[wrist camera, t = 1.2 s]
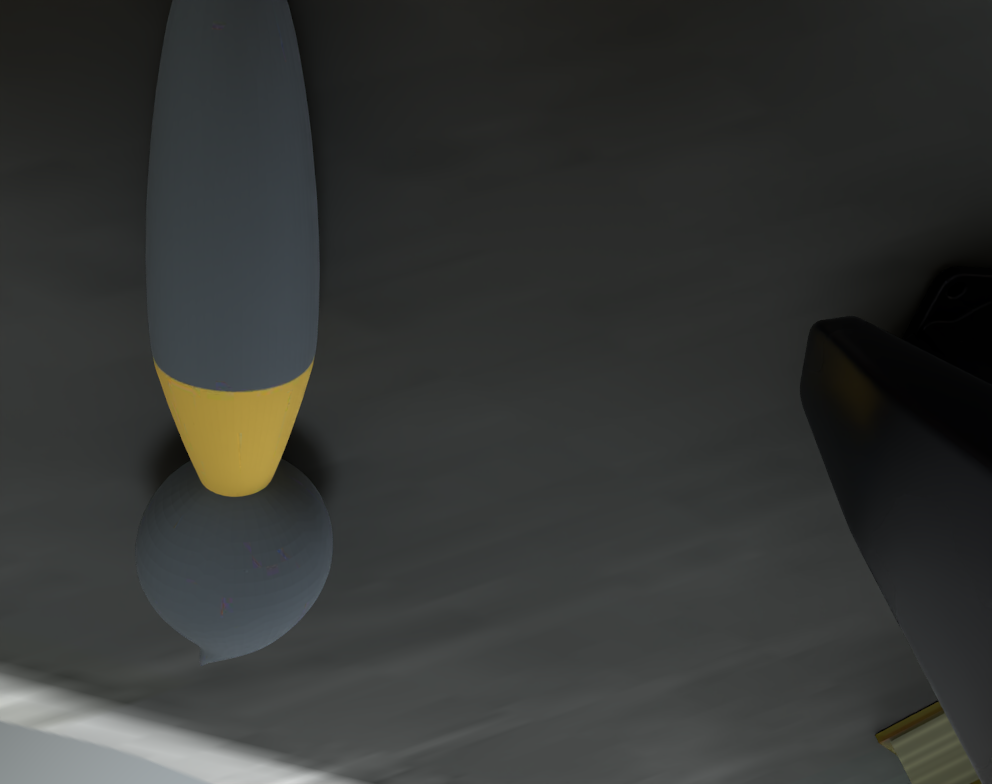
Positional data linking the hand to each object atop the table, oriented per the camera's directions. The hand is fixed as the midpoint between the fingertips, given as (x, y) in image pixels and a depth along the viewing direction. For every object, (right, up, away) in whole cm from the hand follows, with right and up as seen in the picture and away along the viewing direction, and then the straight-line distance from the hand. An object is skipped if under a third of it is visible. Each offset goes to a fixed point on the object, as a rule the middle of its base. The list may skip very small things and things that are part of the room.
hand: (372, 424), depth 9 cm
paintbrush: (-6, +2, +14) cm, 16 cm away
